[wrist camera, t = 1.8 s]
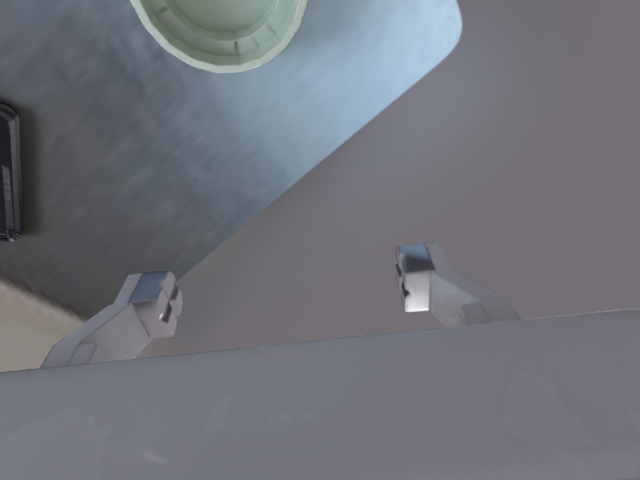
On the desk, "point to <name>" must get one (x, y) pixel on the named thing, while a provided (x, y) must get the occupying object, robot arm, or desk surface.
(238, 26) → the bowl
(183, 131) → the desk surface
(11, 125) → the phone
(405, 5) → the desk surface
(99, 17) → the desk surface
